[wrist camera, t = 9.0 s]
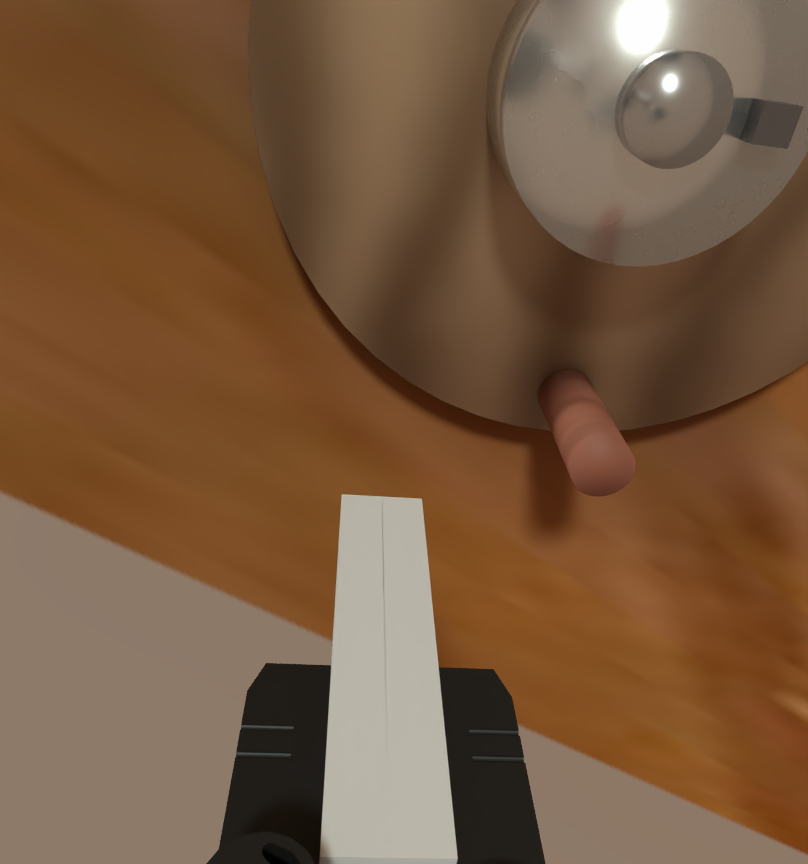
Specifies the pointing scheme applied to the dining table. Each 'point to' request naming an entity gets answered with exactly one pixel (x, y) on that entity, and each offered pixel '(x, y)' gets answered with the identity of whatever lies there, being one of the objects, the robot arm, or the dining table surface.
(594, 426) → the turntable
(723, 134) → the cover
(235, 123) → the dining table surface
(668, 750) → the dining table surface
